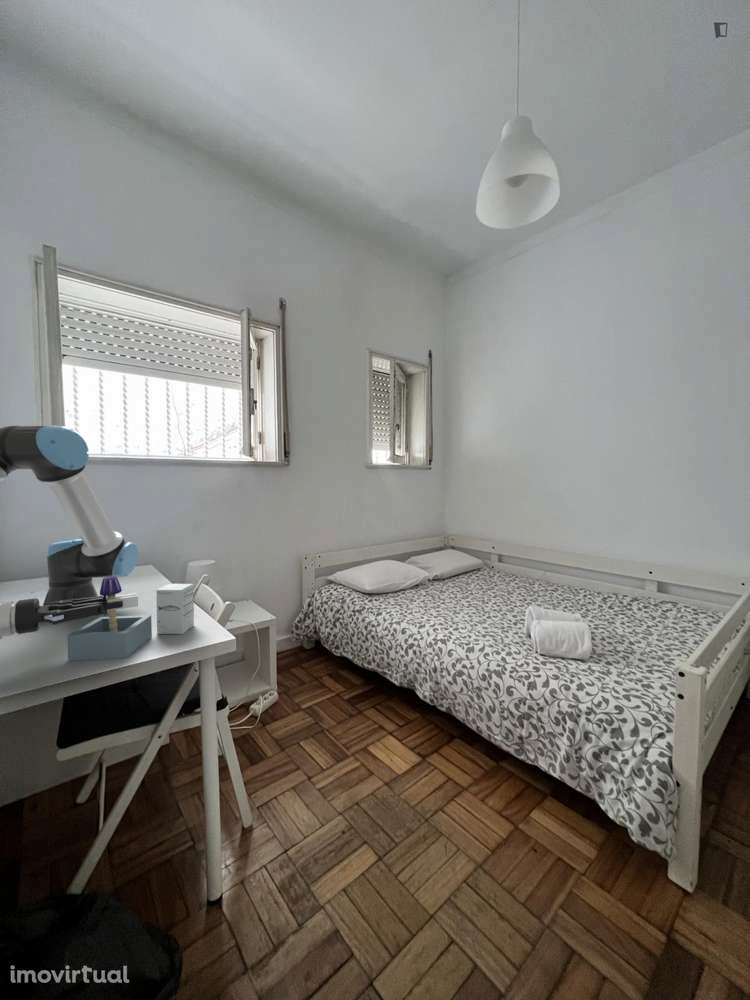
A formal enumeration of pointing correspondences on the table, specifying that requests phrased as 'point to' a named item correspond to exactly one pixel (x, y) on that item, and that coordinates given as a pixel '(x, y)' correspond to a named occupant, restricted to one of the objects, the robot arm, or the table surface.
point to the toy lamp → (111, 597)
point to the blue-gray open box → (109, 638)
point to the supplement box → (175, 608)
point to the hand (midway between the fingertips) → (137, 599)
